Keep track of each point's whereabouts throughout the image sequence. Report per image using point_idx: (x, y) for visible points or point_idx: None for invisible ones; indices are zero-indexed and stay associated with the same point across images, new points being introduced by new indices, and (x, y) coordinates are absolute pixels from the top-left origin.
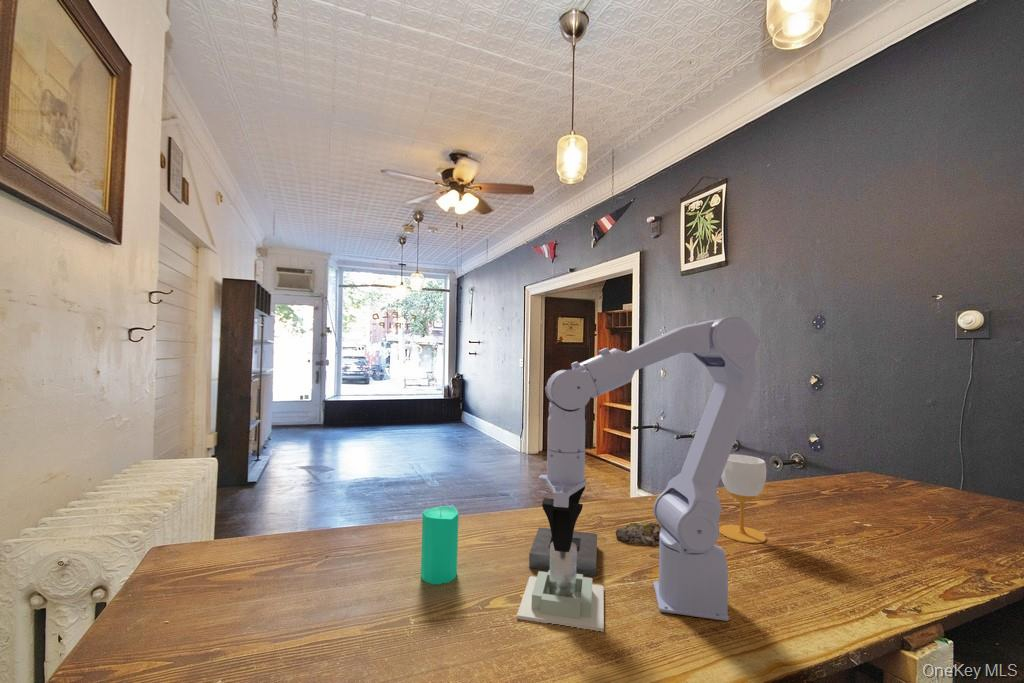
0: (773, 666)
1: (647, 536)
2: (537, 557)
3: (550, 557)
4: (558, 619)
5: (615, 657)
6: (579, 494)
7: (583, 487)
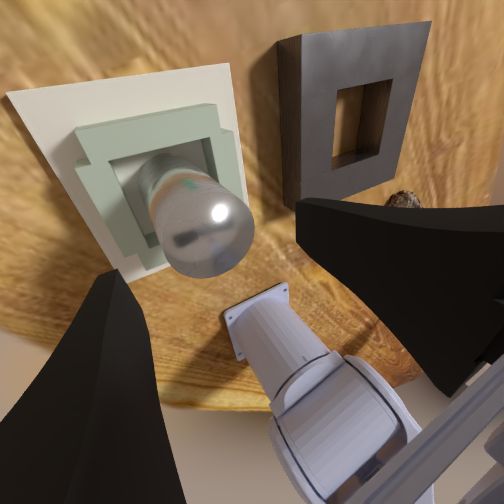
0: (182, 402)
1: None
2: (295, 67)
3: (172, 190)
4: (87, 207)
5: (67, 319)
6: (412, 345)
7: (444, 387)
